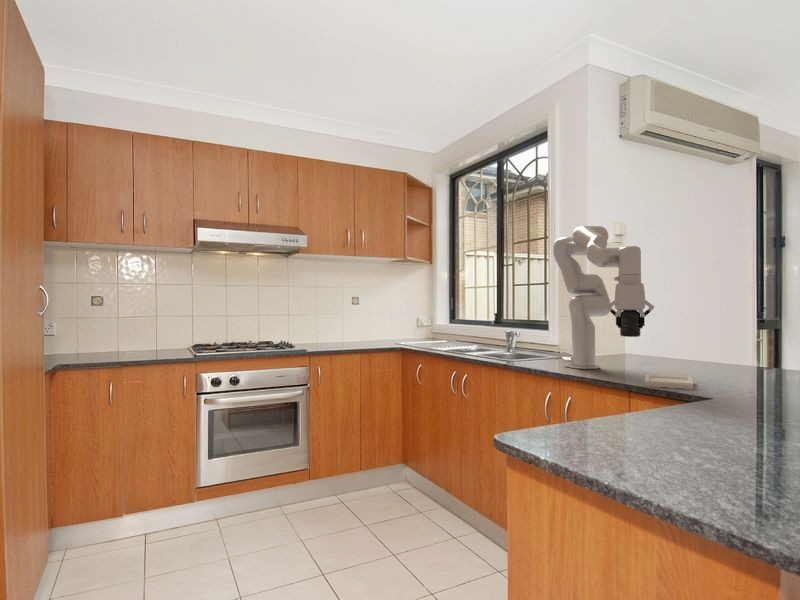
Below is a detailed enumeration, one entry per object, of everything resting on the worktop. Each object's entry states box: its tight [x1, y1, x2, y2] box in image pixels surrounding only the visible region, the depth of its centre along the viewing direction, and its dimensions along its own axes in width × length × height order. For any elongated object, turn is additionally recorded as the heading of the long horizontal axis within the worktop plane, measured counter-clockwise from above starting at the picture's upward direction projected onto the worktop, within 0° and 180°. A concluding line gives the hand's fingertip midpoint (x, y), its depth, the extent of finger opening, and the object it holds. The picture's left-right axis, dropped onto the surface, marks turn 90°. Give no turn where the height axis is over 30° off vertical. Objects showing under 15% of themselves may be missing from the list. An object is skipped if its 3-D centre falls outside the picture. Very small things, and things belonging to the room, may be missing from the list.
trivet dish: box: [644, 374, 694, 390], centre depth 164 cm, size 14×14×2 cm
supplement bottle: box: [619, 310, 641, 338], centre depth 175 cm, size 7×7×12 cm
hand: (630, 327), depth 175 cm, fingers closed on supplement bottle, 6 cm apart
